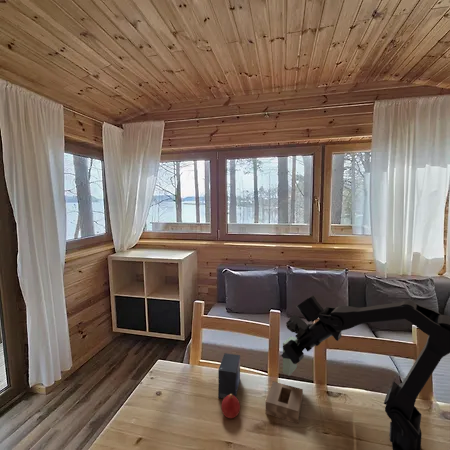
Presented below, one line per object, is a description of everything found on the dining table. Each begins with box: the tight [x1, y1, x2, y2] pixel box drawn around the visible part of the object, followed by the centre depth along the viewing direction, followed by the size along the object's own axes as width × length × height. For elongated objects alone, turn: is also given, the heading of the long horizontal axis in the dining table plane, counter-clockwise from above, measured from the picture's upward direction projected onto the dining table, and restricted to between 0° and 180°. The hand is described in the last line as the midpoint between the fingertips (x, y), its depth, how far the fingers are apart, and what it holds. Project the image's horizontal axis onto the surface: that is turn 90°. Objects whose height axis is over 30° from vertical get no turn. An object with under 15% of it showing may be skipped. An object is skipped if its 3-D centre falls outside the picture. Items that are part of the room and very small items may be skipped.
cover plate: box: [282, 335, 298, 377], centre depth 94 cm, size 2×6×11 cm, turn 140°
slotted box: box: [265, 381, 304, 425], centre depth 86 cm, size 10×10×5 cm
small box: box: [217, 352, 241, 400], centre depth 96 cm, size 11×6×10 cm, turn 168°
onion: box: [221, 394, 241, 419], centre depth 83 cm, size 6×6×8 cm
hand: (286, 352), depth 95 cm, fingers closed on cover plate, 6 cm apart
